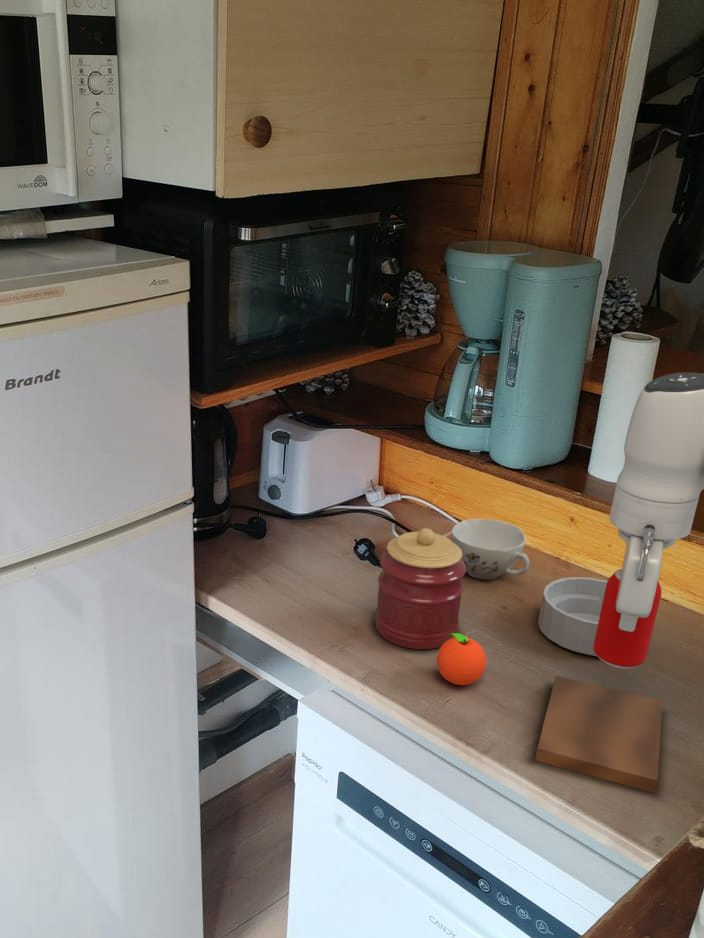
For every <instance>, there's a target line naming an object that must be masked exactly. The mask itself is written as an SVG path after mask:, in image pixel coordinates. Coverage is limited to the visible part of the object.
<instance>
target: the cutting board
mask: <svg viewBox="0 0 704 938" xmlns="http://www.w3.org/2000/svg"><path fill="white" fill-rule="evenodd" d="M662 715H663V700H659V699H655V698H651V697H647V696H644V695H638V694H634V693H630V692H627V691H623V690H617V689H613V688H610V687H606V686H601V685H597V684H592V683H588V682H585V681H580V680H576V679H571V678H566V677H564V676H563V677H562V676H559V675H555V676H554V681H553V684H552V689H551V693H550V697H549V701H548V704H547V709H546V713H545V717H544V721H543V724H542V729H541V732H540V736H539V740H538V745H537V748H536V754H535V759H534V761H536V762H539V763H542V764H547V765H550V766H554V767H558V768H561V769H565V770H568V771H572V772H575V773H579V774H583V775H586V776H591V777H594V778H597V779H601V780H605V781H609V782H612V783H615V784H619V785H623V786H626V787H630V788H634V789H637V790H641V791H645V792H649V793H653V794H655V792H656V787H657V784H658V780H659V766H660V764H659V763H660V748H661V734H662V733H661V730H662V717H663V716H662Z"/></svg>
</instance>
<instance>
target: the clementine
mask: <svg viewBox="0 0 704 938" xmlns="http://www.w3.org/2000/svg"><path fill="white" fill-rule="evenodd" d="M451 634H452V635H453V636H454V638H451V639H449V640H448V641H446V642H445V643H444V644H443V645H442V646H441V647H439V649H438V652H437V656H436V665H437V669H438V671H439V673H440V675H441V676H442V677H443V678H444V680H446V681H448V682H450V683H451V684H453V685H456V686H468V685H472V684H473V683H475V682H477V681H478V680H479V679H481V677H482V675H483V674H484V673H485V670H486V667H487V656H486V653H485V650H484V649H483V647H482V646H481V645H480V644H479V643H478V641H476V640H475V639H472V638H470V637H468V636H465V635H463V634H462V633H460V632H456V633H451ZM451 634H449V635H448V637H449V636H450V635H451ZM448 637H447V639H448Z"/></svg>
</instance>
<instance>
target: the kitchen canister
mask: <svg viewBox="0 0 704 938" xmlns="http://www.w3.org/2000/svg"><path fill="white" fill-rule="evenodd" d="M461 558H462V551H461V549H460V548H459V547H458V546H457V545H456V544H455V543H453V541H452V539H451V540H450V539H449V538H448V537H447V536H444V535H442V534H439V533H435V532H434V531H433V530H432V528H429V527H423V528H421V529H420V530H417V531H409V532H405V533H403V534H401V535H399V536H396V537H394V538H392V539H390V541H389V542H387V545H386V550H385V551H384V553H382V555H381V556H380V558H379V563H380V566H381V568H382V571H381V572H380V574H378V575H379V576H378V580H377V581H378V592H377V601H376V608H375V612H374V621H375V627H376V631H377V632H378V633H379V635H381V637H382V638H384V639H385V640H386V641H388V642H390V643H392V644H395V645H397V646H400V647H404V648H406V649H407V648H408V649H414V650H431V649H432V650H433V649H438V648H441V646H442V645H443V644H444V643H445V642H446V641H448V640H449V639H451V638H455V637H454V636H453V635H452V634H451V633H458V629H459V622H460V620H459V616H460V615H459V613H460V608H461V599H462V594H463V592H464V584H463V581H462V578H463V577H464V576H465V574H466V573H467V572H466V566H465V563H464V562H463V560H462V559H461ZM449 634H451V635H450V636H449V637H448V635H449ZM447 637H448V639H447Z"/></svg>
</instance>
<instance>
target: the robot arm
mask: <svg viewBox="0 0 704 938" xmlns="http://www.w3.org/2000/svg"><path fill="white" fill-rule="evenodd" d="M624 441H625V442H624V446H623V452H624V453H623V454H624V464H623V467H622V470H621V472H620V473H619V475H618V477H617V480H616V482H615V483H616V484H615V487H614V488H615V489H614V493H613V498H612V503H611V508H610V511H609V512H610V513H609V518H608V519H609V521H610V523H611V524H612V526H614V527H615V528H616V529H617V535H618V536H619V538H620V539H621V540H623V541H624V542H625V547H624V553H623V559H622V564H621V569H622V570H621V576H620V582H619V588H618V594H617V600H616V611H617V612H619V613H621V617H620V622H619V628H620V629H621V630H625V631H630V632H632V631H634V630H635V627H636V623H637V619H638V617H641V618H646V617H648V616H649V614H650V612H651V609H652V605H653V600H654V596H655V592H656V587H657V583H658V582H659V578H660V574H661V568H662V563H663V554H664V549H668V548H670V547H673V546H675V544H676V541H677V540H679V539H684V538H686V537H687V536H688V535H690V533H691V530H692V527H693V522H694V518H695V514H696V511H697V506H698V503H699V499H700V495H701V492H702V491H703V490H704V373H697V372H675V373H669V374H664V375H662V376H660V377H656V378H654V379H653V380H651V381H649V382H648V383H647V384H646V385H645V386H644V387H643V388H642V390H641V391H640V394H639V395H638V397H637V400H636V401H635V405H634V408H633V411H632V414H631V416H630V420H629V424H628V427H627V432H626V437H625V440H624Z"/></svg>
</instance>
